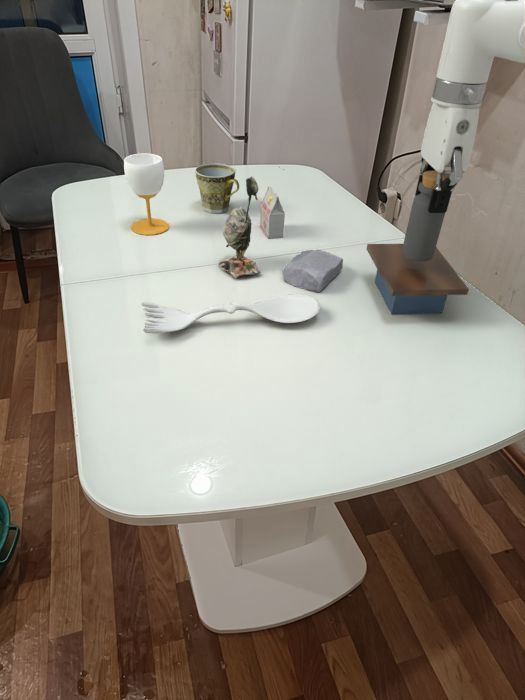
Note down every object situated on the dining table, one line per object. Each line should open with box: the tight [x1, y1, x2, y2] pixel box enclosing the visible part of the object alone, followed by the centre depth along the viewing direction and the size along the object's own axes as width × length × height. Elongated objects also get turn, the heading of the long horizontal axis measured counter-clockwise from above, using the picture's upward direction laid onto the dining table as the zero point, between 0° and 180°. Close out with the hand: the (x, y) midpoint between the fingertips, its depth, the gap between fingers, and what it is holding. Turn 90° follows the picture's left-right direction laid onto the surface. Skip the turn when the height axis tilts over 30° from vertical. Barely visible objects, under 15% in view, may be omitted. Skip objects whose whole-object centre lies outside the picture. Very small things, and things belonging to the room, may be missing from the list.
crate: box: [374, 268, 448, 315], centre depth 100 cm, size 10×12×6 cm
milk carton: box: [259, 186, 286, 240], centre depth 120 cm, size 4×7×10 cm, turn 17°
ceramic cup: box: [194, 163, 240, 214], centre depth 129 cm, size 13×10×10 cm
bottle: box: [402, 171, 450, 261], centre depth 91 cm, size 6×6×15 cm
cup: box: [123, 152, 170, 236], centre depth 118 cm, size 9×9×16 cm
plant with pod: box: [218, 175, 261, 279], centre depth 103 cm, size 8×11×20 cm
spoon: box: [140, 293, 321, 334], centre depth 92 cm, size 9×32×4 cm, turn 103°
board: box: [366, 243, 470, 296], centre depth 98 cm, size 14×18×1 cm
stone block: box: [282, 249, 344, 293], centre depth 106 cm, size 12×5×10 cm
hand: (430, 203), depth 90 cm, fingers closed on bottle, 5 cm apart
